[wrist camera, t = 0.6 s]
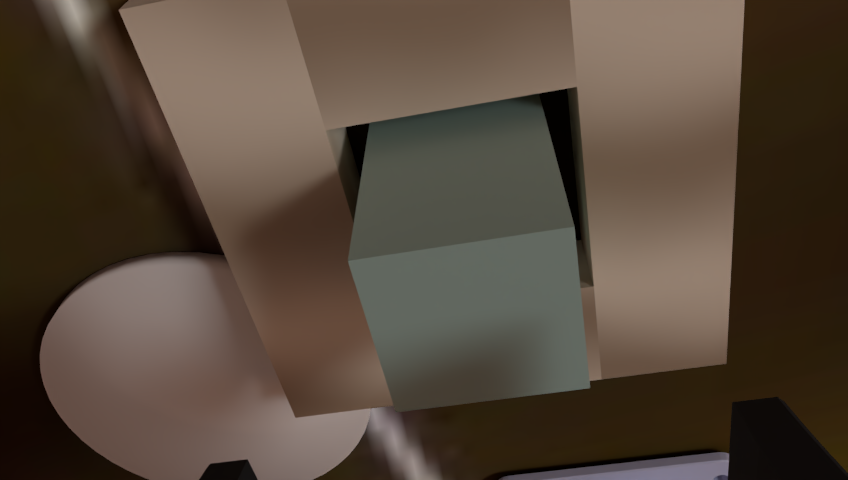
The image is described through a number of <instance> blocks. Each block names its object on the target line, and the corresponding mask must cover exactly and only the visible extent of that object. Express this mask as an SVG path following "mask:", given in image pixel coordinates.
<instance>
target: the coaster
mask: <svg viewBox="0 0 848 480" xmlns="http://www.w3.org/2000/svg"><path fill="white" fill-rule="evenodd" d="M40 371H41V375H42V380H43V384H44V387H45V389H46V392H47V394H48V397H49V399H50V401H51V403H52V404H53V406H54V408H55V409H56V411H57V413H58V414H59V416H60V417H61V418H62V419H63V421H64V422H65V423H66V424H67V426H68V427H69V428H70V429H71V430H72V431H73V432H74V433H75V434H76V435H77V436H78V437H79V438H80V439H81V440H82V441H83V442H85V443H86V444H87V445H88V446H90V447H91V448H92V449H93V450H95V451H96V452H97V453H99V454H100V455H102V456H103V457H105V458H107V459H108V460H110V461H111V462H113V463H115V464H117V465H118V466H120V467H122V468H124V469H126V470H128V471H130V472H132V473H135V474H137V475H139V476H142V477H144V478H146V479H149V480H199V479H200V477H201V476H202V474H203V473H204V471H205V470H206V468H207V467H208V466H209V464H211V463H220V462H228V461H237V460H245V459H248V461H249V463H250V465H251V467H252V469H253V471H254V473H255V475H256V477H257V479H258V480H313V479H315V478H317V477H319V476H321V475H323V474H325V473H326V472H328V471H329V470H331V469H332V468H334V467H335V466H337V465H338V464H339V463H340V462H341V461H343V460H344V459H345V458H346V457H347V456H348V455H349V454H350V453H351V452H352V450H353V449H354V448H355V447H356V445H357V444H358V443H359V441H360V439H361V437H362V435H363V434H364V432H365V429H366V426H367V423H368V421H369V417H370V410H371V408H370V409H362V410H354V411H346V412H338V413H330V414H322V415H314V416H306V417H298V418H295V416H294V413H293V411H292V409H291V406H290V404H289V402H288V400H287V397H286V395H285V393H284V390H283V388H282V386H281V383H280V381H279V379H278V376H277V374H276V372H275V370H274V367H273V365H272V363H271V360H270V358H269V356H268V353H267V351H266V349H265V346H264V344H263V342H262V340H261V337H260V335H259V333H258V330H257V328H256V326H255V323H254V321H253V319H252V317H251V314H250V312H249V310H248V307H247V305H246V303H245V300H244V298H243V296H242V293H241V291H240V289H239V287H238V284H237V282H236V280H235V277H234V275H233V273H232V270H231V268H230V266H229V263H228V261H227V259H226V257H225V256H224V255H218V254H210V253H201V252H165V253H155V254H147V255H143V256H138V257H134V258H129V259H126V260H123V261H120V262H118V263H115V264H112V265H109V266H107V267H105V268H103V269H101V270H99V271H98V272H96V273H94V274H92V275H90V276H89V277H88V278H86V279H85V280H84V281H82V282H81V283H80V284H78V285H77V286H76V287H75V288H74V289H73V290H72V291H71V292H70V293H69V294H68V295H67V296H66V297H65V299H64V300H63V302H62V303H61V305H60V307H59V308H58V310H57V311H56V313H55V314H54V316H53V318H52V319H51V321H50V322H49V324H48V326H47V328H46V331H45V334H44V336H43V339H42V344H41V350H40Z"/></svg>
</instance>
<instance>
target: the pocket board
mask: <svg viewBox="0 0 848 480" xmlns="http://www.w3.org/2000/svg"><path fill="white" fill-rule="evenodd" d="M744 1H745V0H128V1H127V2H126V3H125V4H124V5H123V6H122V7H121V8H120V9H119V12H120V14H121V17H122V19H123V21H124V24H125V26H126V28H127V31H128V33H129V35H130V37H131V40H132V42H133V44H134V47H135V49H136V51H137V54H138V56H139V58H140V60H141V63H142V65H143V67H144V70H145V72H146V74H147V77H148V79H149V81H150V84H151V86H152V88H153V90H154V93H155V95H156V97H157V100H158V102H159V104H160V107H161V109H162V111H163V114H164V116H165V118H166V120H167V123H168V125H169V127H170V130H171V132H172V134H173V137H174V139H175V141H176V144H177V146H178V148H179V150H180V153H181V155H182V157H183V160H184V162H185V164H186V167H187V169H188V171H189V174H190V176H191V178H192V180H193V183H194V185H195V187H196V190H197V192H198V194H199V197H200V199H201V201H202V203H203V206H204V208H205V210H206V213H207V215H208V217H209V220H210V222H211V224H212V227H213V229H214V231H215V233H216V236H217V238H218V240H219V243H220V245H221V247H222V250H223V252H224V254H225V257H226V259H227V261H228V263H229V266H230V268H231V270H232V273H233V275H234V277H235V280H236V282H237V284H238V287H239V289H240V291H241V293H242V296H243V298H244V300H245V303H246V305H247V307H248V310H249V312H250V314H251V317H252V319H253V321H254V323H255V326H256V328H257V330H258V333H259V335H260V337H261V340H262V342H263V344H264V346H265V349H266V351H267V353H268V356H269V358H270V360H271V363H272V365H273V367H274V370H275V372H276V374H277V376H278V379H279V381H280V383H281V386H282V388H283V390H284V393H285V395H286V397H287V400H288V402H289V404H290V406H291V409H292V411H293V413H294V416H295V418H298V417H306V416H314V415H322V414H330V413H338V412H346V411H354V410H362V409H370V408H377V407H385V406H393V402H392V398H391V395H390V392H389V389H388V386H387V383H386V380H385V376H384V373H383V370H382V367H381V364H380V361H379V358H378V354H377V351H376V348H375V345H374V342H373V339H372V336H371V332H370V329H369V326H368V323H367V320H366V317H365V314H364V310H363V307H362V304H361V301H360V298H359V295H358V292H357V288H356V285H355V282H354V279H353V276H352V273H351V270H350V266H349V263H348V256H349V250H350V243H351V237H352V231H353V225H354V218H355V212H356V206H357V199H358V193H359V187H360V180H361V179H360V176H359V172H358V169H357V165H356V162H355V158H354V155H353V151H352V148H351V144H350V141H349V137H348V134H347V130H346V127H348V126H354V125H359V124H365V123H371V122H377V121H383V120H388V119H394V118H400V117H406V116H411V115H417V114H423V113H429V112H434V111H440V110H446V109H452V108H457V107H463V106H469V105H475V104H480V103H486V102H492V101H498V100H504V99H509V98H515V97H521V96H527V95H532V94H538V93H544V92H550V91H555V90H561V89H567V92H568V103H569V114H570V125H571V136H572V147H573V157H574V168H575V179H576V190H577V201H578V212H579V223H580V233H581V240H577V241H576V247H577V257H578V267H579V278H580V288H581V298H582V309H583V319H584V329H585V340H586V350H587V360H588V371H589V381H592V380H600V379H608V378H616V377H624V376H631V375H639V374H647V373H655V372H663V371H671V370H679V369H687V368H695V367H703V366H711V365H719V364H726V358H727V338H728V318H729V298H730V279H731V259H732V239H733V219H734V199H735V179H736V160H737V140H738V120H739V100H740V80H741V60H742V41H743V21H744Z"/></svg>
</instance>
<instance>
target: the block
mask: <svg viewBox="0 0 848 480" xmlns="http://www.w3.org/2000/svg"><path fill="white" fill-rule="evenodd" d="M348 263H349V266H350V270H351V273H352V276H353V279H354V282H355V285H356V288H357V292H358V295H359V298H360V301H361V304H362V307H363V310H364V314H365V317H366V320H367V323H368V326H369V329H370V332H371V336H372V339H373V342H374V345H375V348H376V351H377V354H378V358H379V361H380V364H381V367H382V370H383V373H384V376H385V380H386V383H387V386H388V389H389V392H390V395H391V398H392V402H393V405H394V408H395V411H396V412H402V411H410V410H418V409H426V408H434V407H442V406H450V405H458V404H466V403H474V402H482V401H490V400H498V399H506V398H514V397H522V396H530V395H538V394H546V393H554V392H562V391H570V390H578V389H586V388H590V381H589V371H588V360H587V350H586V340H585V329H584V319H583V309H582V298H581V288H580V278H579V267H578V257H577V247H576V236H575V226H574V223H573V219H572V215H571V212H570V208H569V204H568V200H567V197H566V193H565V189H564V185H563V182H562V178H561V174H560V170H559V167H558V163H557V159H556V155H555V152H554V148H553V144H552V141H551V137H550V133H549V129H548V126H547V122H546V118H545V114H544V111H543V107H542V103H541V99H540V96H539V93H538V94H532V95H527V96H521V97H515V98H509V99H504V100H498V101H492V102H486V103H480V104H475V105H469V106H463V107H457V108H452V109H446V110H440V111H434V112H429V113H423V114H417V115H411V116H406V117H400V118H394V119H388V120H383V121H377V122H371V123H370V124H369V130H368V136H367V142H366V149H365V155H364V161H363V168H362V174H361V180H360V187H359V193H358V199H357V206H356V212H355V218H354V225H353V231H352V237H351V243H350V250H349V256H348Z"/></svg>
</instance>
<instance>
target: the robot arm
mask: <svg viewBox="0 0 848 480" xmlns="http://www.w3.org/2000/svg"><path fill="white" fill-rule="evenodd" d="M199 480H258V479H257V477H256V475H255V473H254V471H253V469H252V467H251V465H250V463H249V461H248V459H245V460H237V461H228V462H220V463H211V464H209V466H208V467H207V468H206V470H205V471H204V473H203V474H202V476H201V477H200V479H199ZM499 480H848V473H847V472H846V471H845V470H844V469H843V468H842V467H841V466H840V464H839V463H838V462H837V461H836V460H835V459H834V458H833V457H832V456H831V455H830V454H829V453H828V451H827V450H826V449H825V448H824V447H823V446H822V445H821V444H820V443H819V441H818V440H817V439H816V438H815V437H814V436H813V435H812V433H811V432H810V431H809V430H808V429H807V428H806V427H805V425H804V424H803V423H802V422H801V421H800V420H799V418H798V417H797V416H796V415H795V414H794V413H793V411H792V410H791V409H790V408H789V407H788V406H787V404H786V403H785V402H784V401H782V400H781V399H779V398H778V397H774V398H765V399H757V400H748V401H740V402H732V418H731V434H730V450H729V454H728V453H725V452H714V453H706V454H697V455H688V456H679V457H670V458H661V459H652V460H643V461H634V462H625V463H616V464H607V465H599V466H590V467H581V468H572V469H563V470H554V471H545V472H536V473H527V474H518V475H509V476H505V477H502V478H501V479H499Z"/></svg>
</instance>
